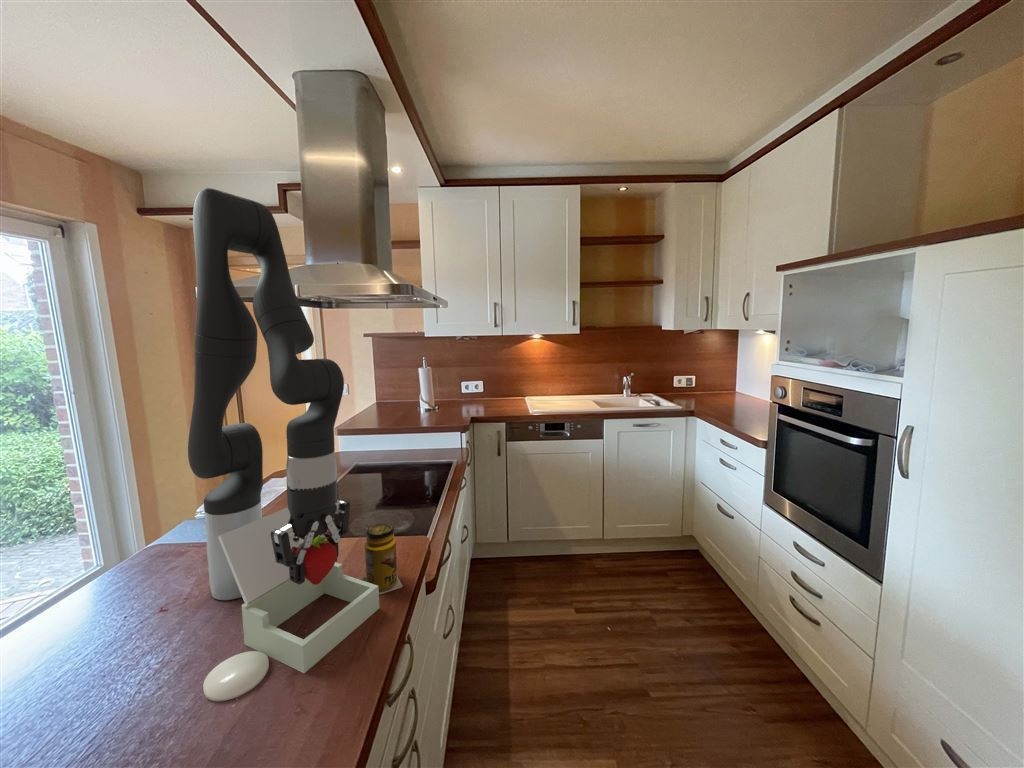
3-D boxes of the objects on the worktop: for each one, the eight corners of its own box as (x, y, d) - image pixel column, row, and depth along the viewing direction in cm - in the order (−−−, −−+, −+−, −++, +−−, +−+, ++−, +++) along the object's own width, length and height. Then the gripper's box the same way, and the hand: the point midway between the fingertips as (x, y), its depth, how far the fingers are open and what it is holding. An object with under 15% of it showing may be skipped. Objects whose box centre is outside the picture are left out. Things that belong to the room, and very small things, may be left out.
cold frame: (222, 633, 68) (214, 535, 66) (304, 581, 82) (300, 500, 80) (304, 673, 60) (297, 563, 58) (379, 608, 74) (376, 518, 72)
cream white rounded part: (191, 688, 57) (190, 683, 57) (247, 649, 64) (247, 644, 64) (225, 709, 54) (225, 704, 54) (280, 666, 61) (280, 661, 61)
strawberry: (322, 599, 65) (321, 542, 64) (284, 591, 67) (281, 535, 66) (345, 578, 71) (344, 525, 70) (309, 571, 73) (307, 519, 71)
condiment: (403, 587, 81) (401, 531, 80) (360, 602, 76) (357, 542, 75) (392, 569, 87) (391, 517, 86) (351, 582, 82) (349, 527, 81)
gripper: (331, 462, 74) (333, 546, 77) (255, 488, 61) (260, 589, 63) (361, 469, 71) (363, 556, 74) (288, 498, 58) (292, 603, 60)
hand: (315, 571), depth 69 cm, fingers closed on strawberry, 6 cm apart
